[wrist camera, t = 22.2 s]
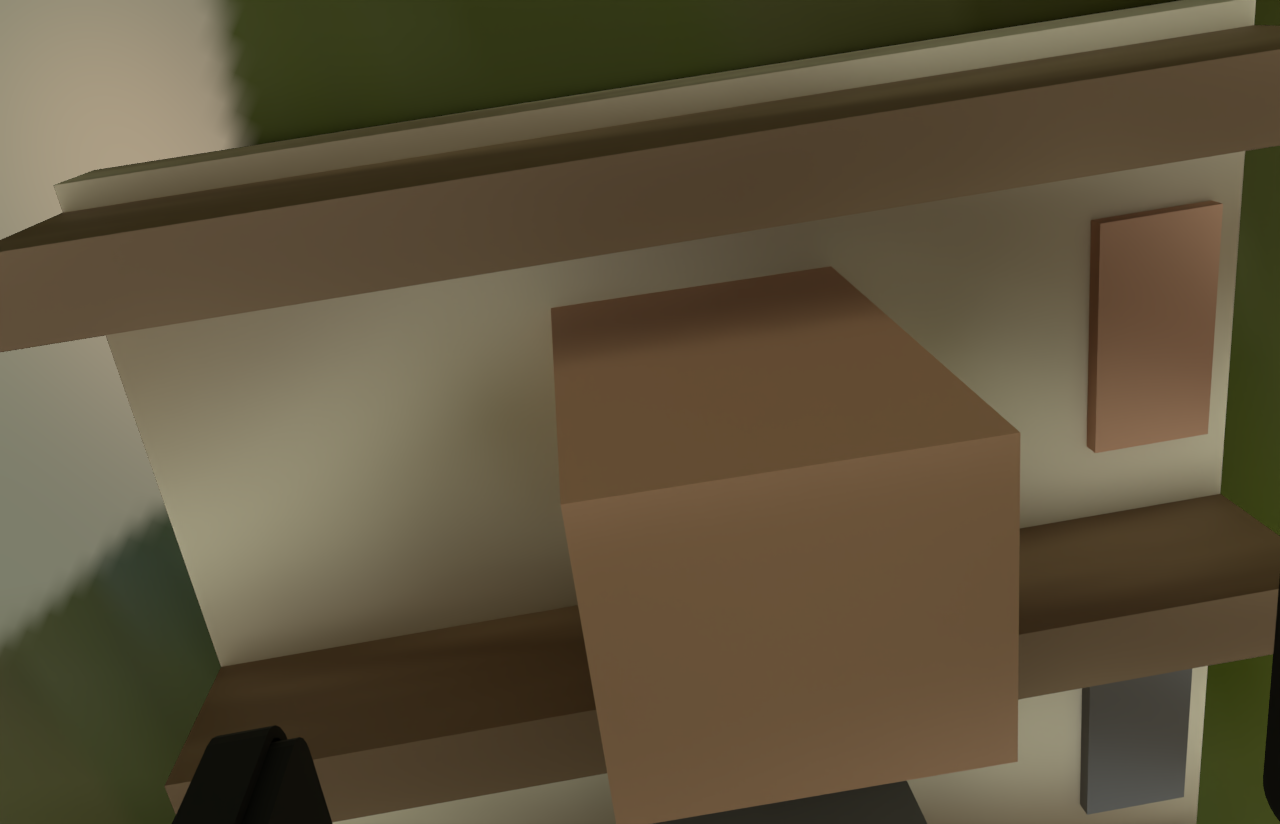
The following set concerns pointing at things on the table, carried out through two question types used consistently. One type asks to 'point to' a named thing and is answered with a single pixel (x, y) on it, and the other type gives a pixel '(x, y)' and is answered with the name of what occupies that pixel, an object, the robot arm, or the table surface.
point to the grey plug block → (828, 809)
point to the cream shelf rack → (667, 260)
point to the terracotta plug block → (783, 546)
